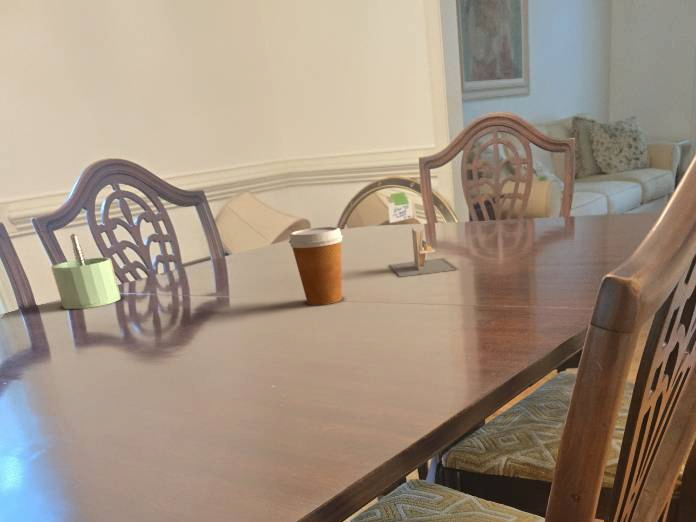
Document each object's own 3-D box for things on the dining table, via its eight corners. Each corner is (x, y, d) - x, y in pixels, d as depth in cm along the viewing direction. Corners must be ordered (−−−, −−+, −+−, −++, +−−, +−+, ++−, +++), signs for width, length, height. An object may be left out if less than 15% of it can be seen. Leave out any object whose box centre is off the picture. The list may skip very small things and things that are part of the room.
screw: (98, 301, 159) (75, 303, 159) (106, 296, 163) (84, 298, 163) (79, 234, 152) (56, 236, 153) (89, 230, 157) (66, 233, 157)
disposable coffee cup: (287, 306, 138) (276, 235, 133) (319, 294, 145) (310, 226, 140) (329, 308, 134) (319, 234, 128) (360, 295, 141) (352, 225, 135)
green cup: (57, 311, 155) (45, 270, 152) (70, 300, 166) (58, 262, 162) (115, 304, 157) (104, 263, 153) (124, 294, 167) (114, 255, 163)
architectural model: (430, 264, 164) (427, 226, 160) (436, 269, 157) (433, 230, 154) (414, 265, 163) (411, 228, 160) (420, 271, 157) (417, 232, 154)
